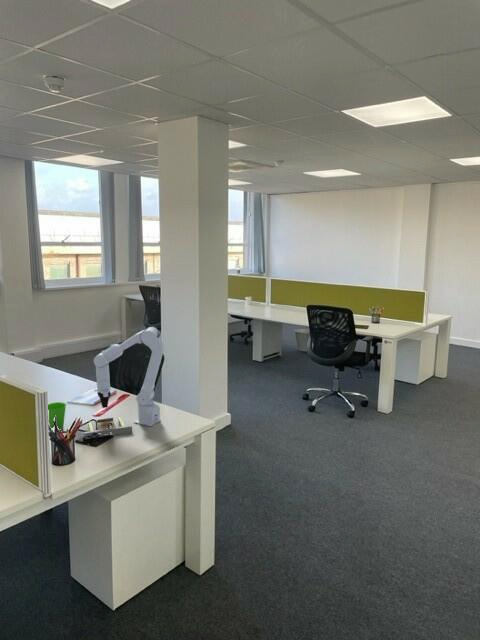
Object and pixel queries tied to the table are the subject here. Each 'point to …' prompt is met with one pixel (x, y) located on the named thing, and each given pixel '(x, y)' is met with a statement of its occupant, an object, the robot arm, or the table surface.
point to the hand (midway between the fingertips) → (104, 407)
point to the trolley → (105, 423)
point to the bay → (115, 431)
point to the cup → (57, 413)
